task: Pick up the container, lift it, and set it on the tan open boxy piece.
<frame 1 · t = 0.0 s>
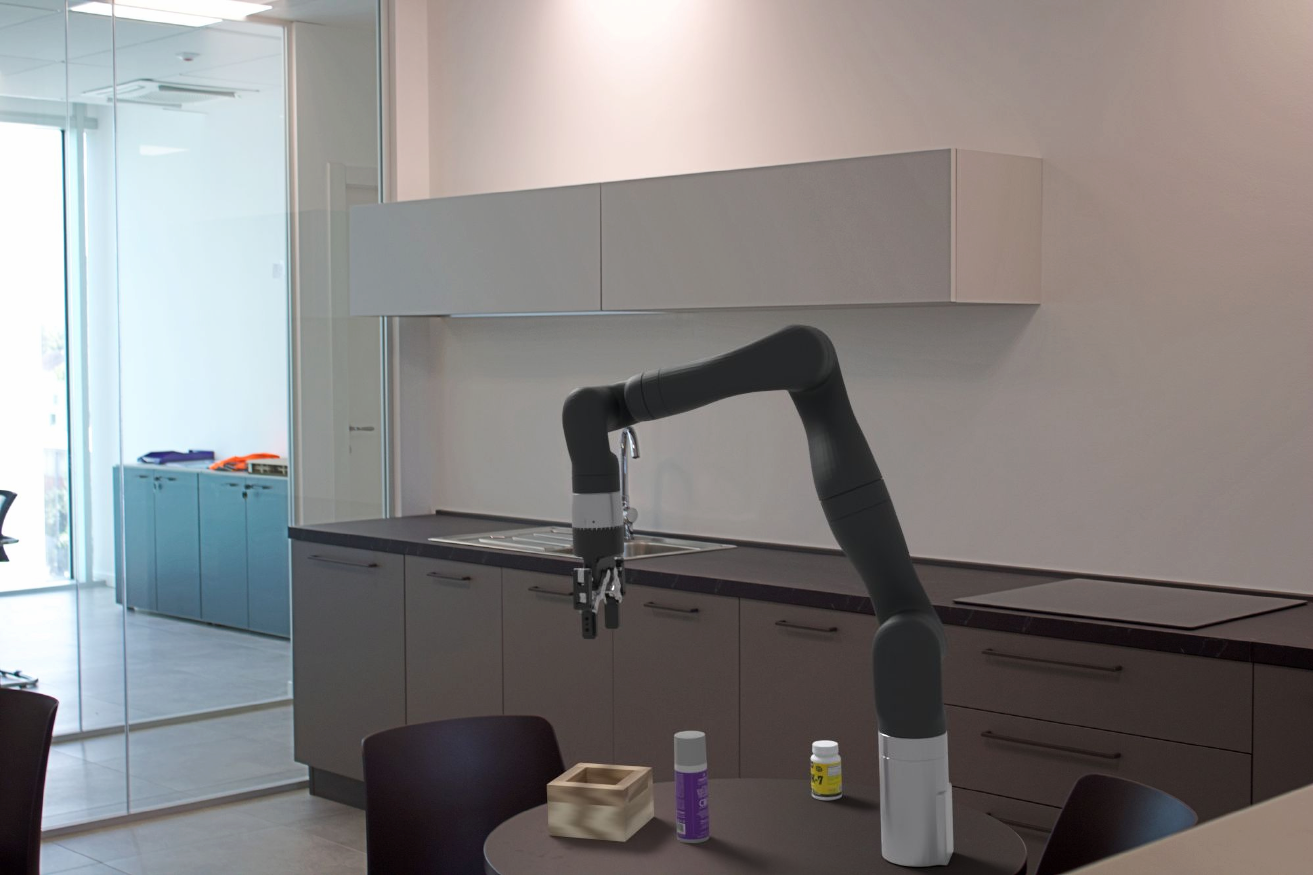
hand: (601, 633, 202), 29 cm above the table, tool pointing down, fingers open, 8 cm apart
tan open boxy piece: (602, 825, 206), on the table
supplement bottle: (826, 797, 217), on the table
container: (693, 839, 199), on the table
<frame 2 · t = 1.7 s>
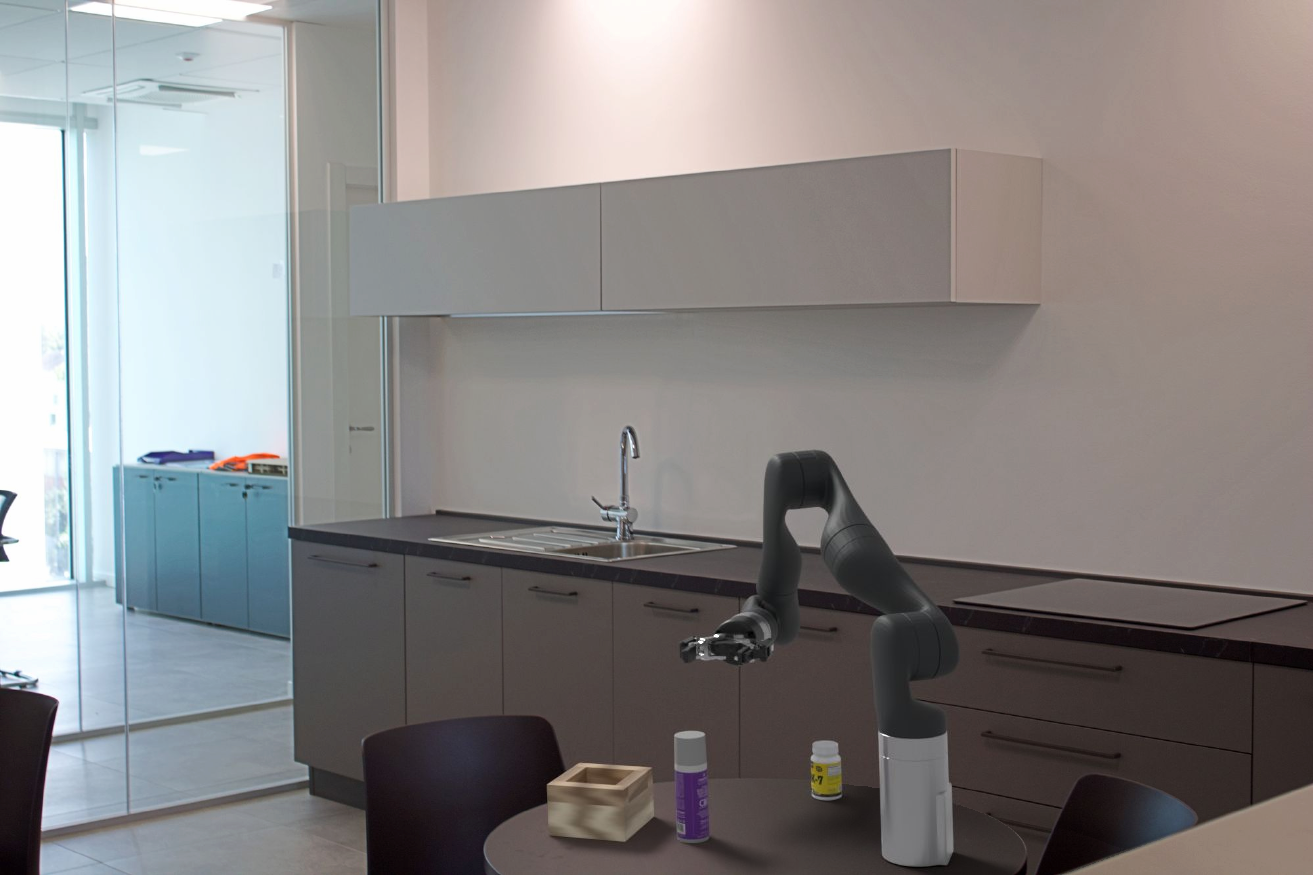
hand: (712, 657, 210), 24 cm above the table, tool horizontal, fingers open, 8 cm apart
nothing on the table moved.
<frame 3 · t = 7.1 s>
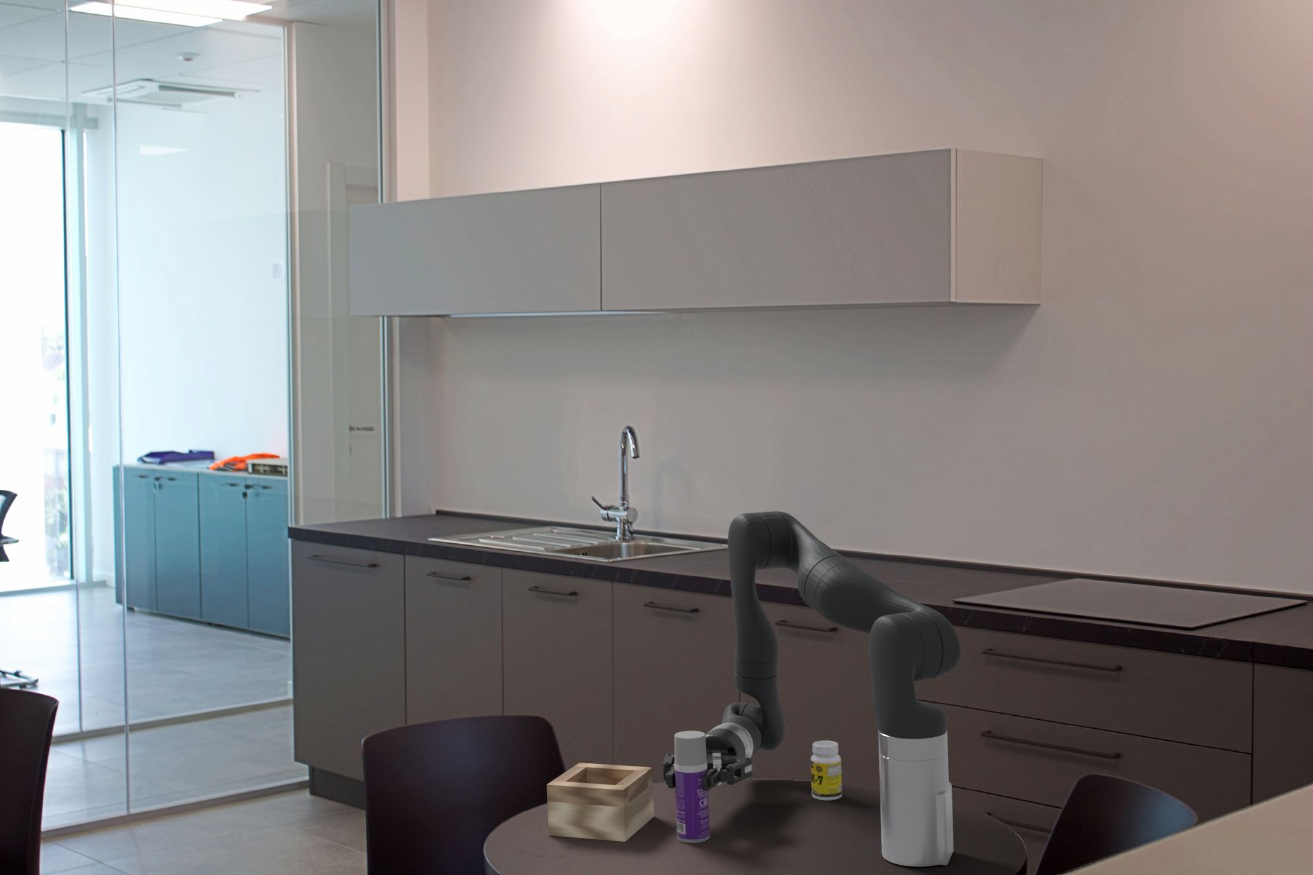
hand: (687, 782, 197), 9 cm above the table, tool horizontal, fingers closed on container, 4 cm apart
container: (693, 839, 199), on the table, touching gripper
everything else where it was.
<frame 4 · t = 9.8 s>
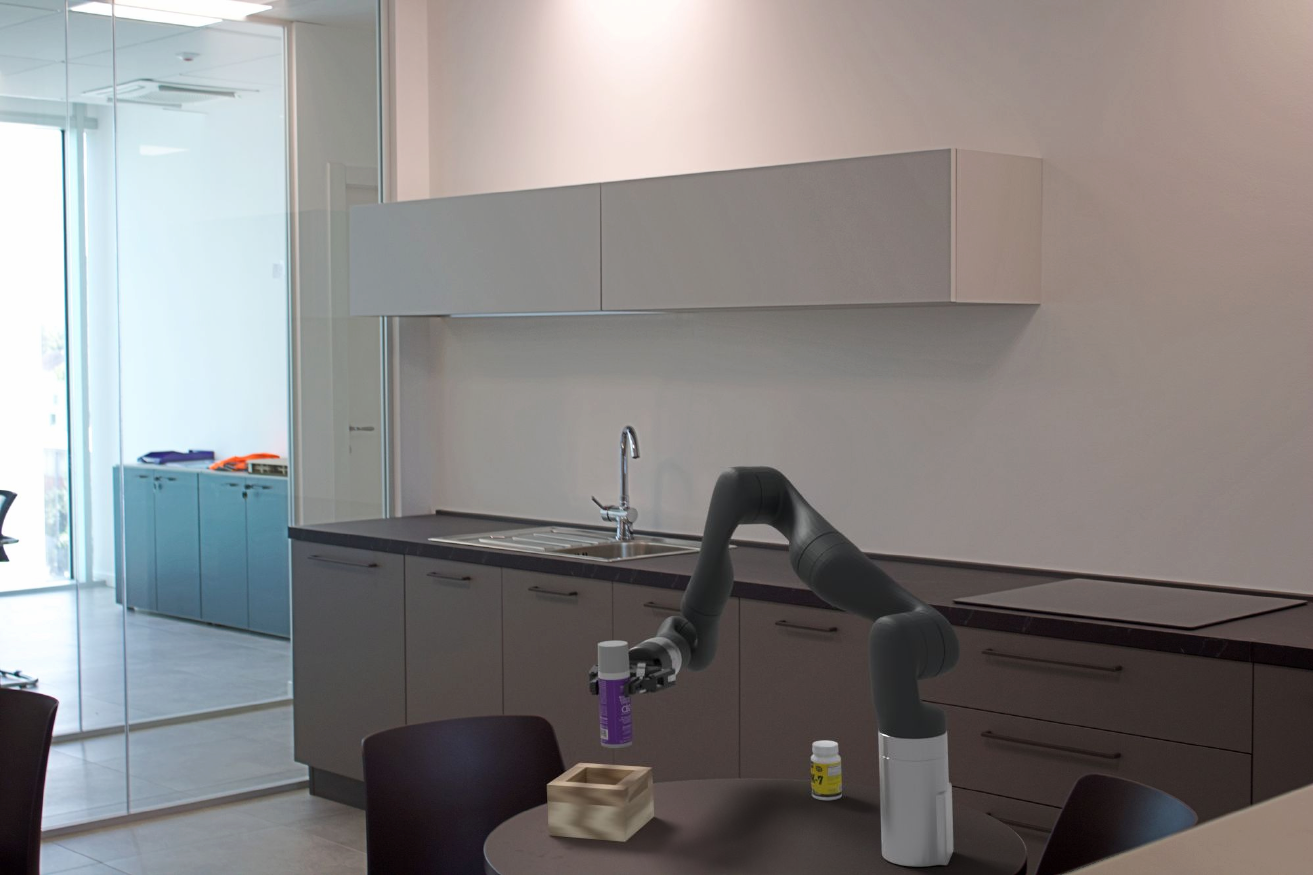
hand: (610, 689, 203), 21 cm above the table, tool horizontal, fingers closed on container, 4 cm apart
container: (616, 744, 205), point 12 cm above the table, touching gripper
everything else where it was.
when the fingers open (14 cm above the table, at t = 12.8 s): container stays where it is, resting on tan open boxy piece.
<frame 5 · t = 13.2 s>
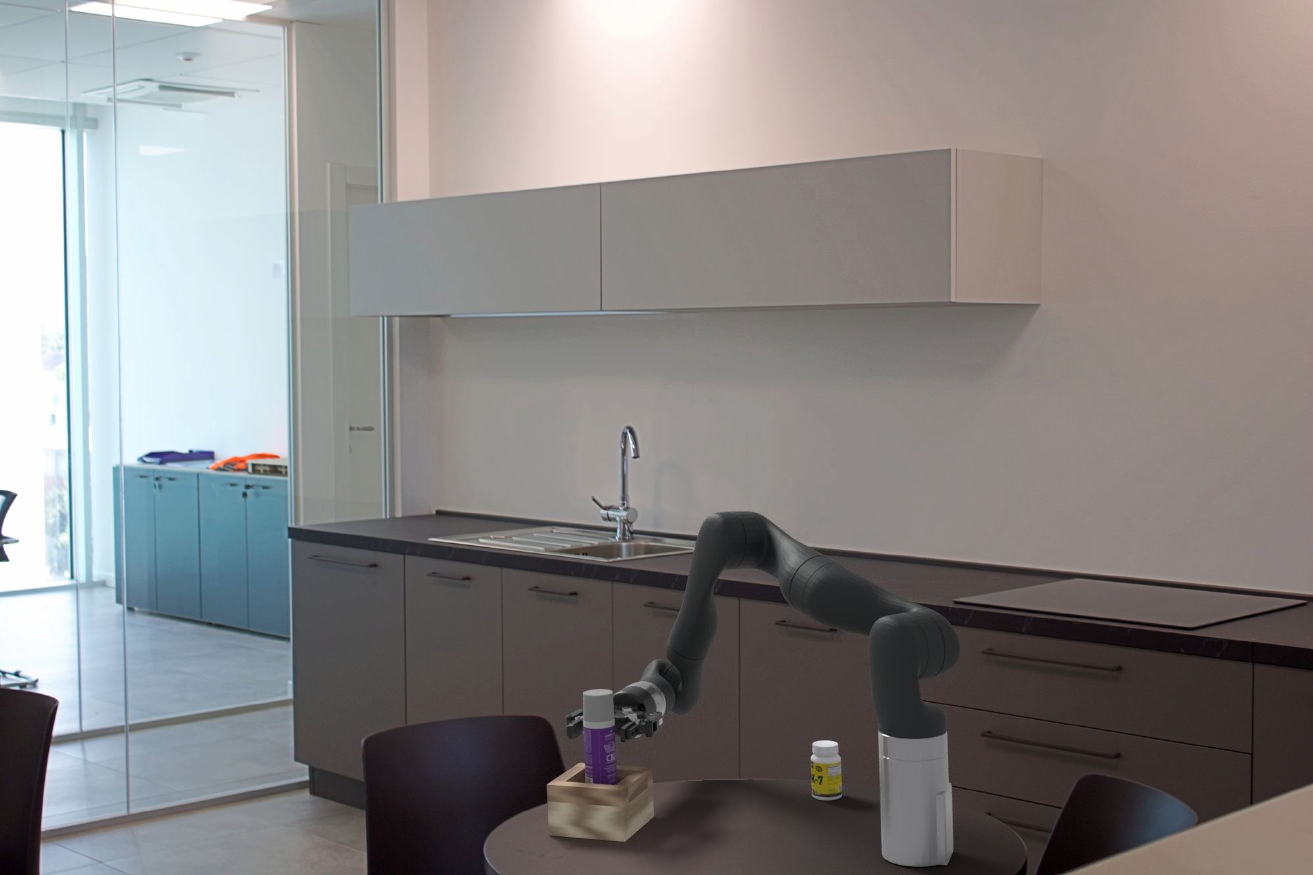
hand: (596, 734, 205), 14 cm above the table, tool horizontal, fingers open, 8 cm apart
container: (601, 793, 206), point 5 cm above the table, touching tan open boxy piece
everything else where it was.
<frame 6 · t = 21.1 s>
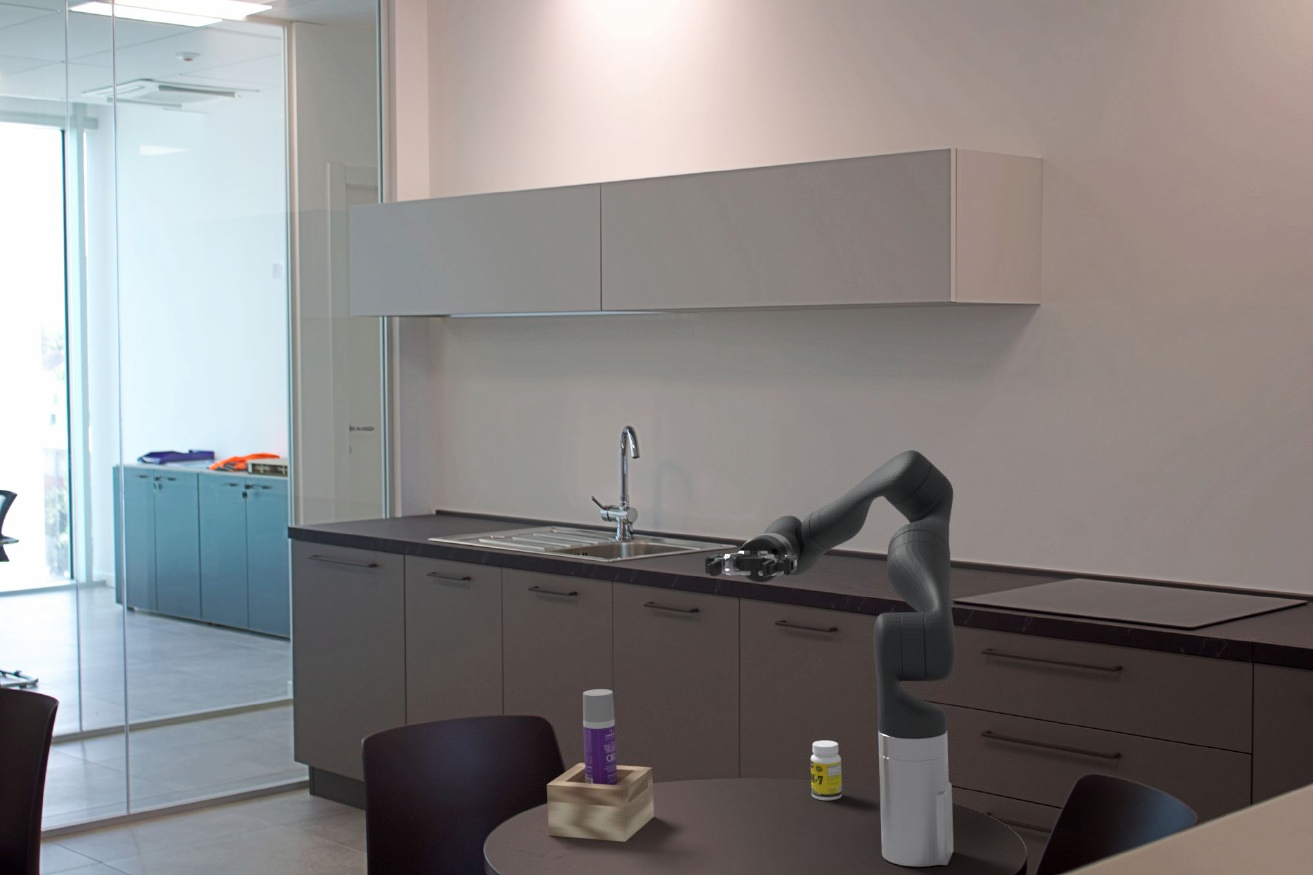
hand: (738, 570, 216), 36 cm above the table, tool horizontal, fingers open, 8 cm apart
nothing on the table moved.
at the end: container 0.1 cm off-centre on the tan open boxy piece, point 4.8 cm above the tan open boxy piece's base; container tilted 0°; container touching tan open boxy piece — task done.
